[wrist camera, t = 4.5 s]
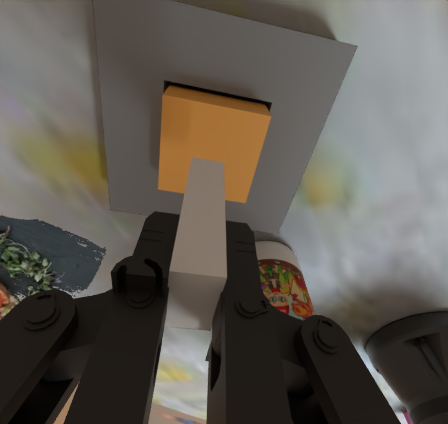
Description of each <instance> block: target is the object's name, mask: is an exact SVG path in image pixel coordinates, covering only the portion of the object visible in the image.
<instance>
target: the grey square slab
mask: <svg viewBox="0 0 448 424" xmlns="http://www.w3.org/2000/svg"><path fill="white" fill-rule="evenodd" d="M92 2H93V14H94V26H95V37H96V49H97V61H98V72H99V84H100V96H101V107H102V119H103V130H104V142H105V154H106V165H107V177H108V189H109V200H110V210H113V211H120V212H127V213H133V214H140V215H147V216H150V215H151V214H152V213H153V212H154V211H158V212H165V213H172V214H179V215H180V214H181V209H182V204H183V199H184V194H183V193H177V192H171V191H164V190H158V179H159V159H160V138H161V118H162V97H163V93H164V92H165V91H166V90H167V88H168V87H169V86H170V85H171V82H176V83H181V84H185V85H190V86H195V87H200V88H205V89H209V90H214V91H219V92H224V93H229V94H234V95H238V96H243V97H248V98H253V99H258V100H262V101H263V104H265V105H266V107H267V109H268V111H269V113H270V115H271V119H270V123H269V126H268V129H267V133H266V136H265V140H264V143H263V146H262V150H261V153H260V156H259V160H258V163H257V166H256V170H255V173H254V177H253V180H252V183H251V187H250V190H249V193H248V197H247V200H246V203H241V202H234V201H228V200H225V219H226V220H227V221H234V222H241V223H247V224H248V226H249V227H250V229H251V230H252V231H258V232H265V233H272V234H278V232H279V230H280V228H281V225H282V223H283V221H284V218H285V216H286V214H287V211H288V209H289V207H290V204H291V202H292V200H293V197H294V195H295V192H296V190H297V188H298V185H299V183H300V181H301V178H302V176H303V174H304V171H305V169H306V167H307V164H308V162H309V160H310V157H311V155H312V153H313V150H314V148H315V145H316V143H317V141H318V138H319V136H320V134H321V131H322V129H323V127H324V124H325V122H326V120H327V117H328V115H329V113H330V110H331V108H332V105H333V103H334V101H335V98H336V96H337V94H338V91H339V89H340V87H341V84H342V82H343V80H344V77H345V75H346V73H347V70H348V68H349V66H350V63H351V61H352V58H353V56H354V54H355V51H356V49H357V47H358V46H356V45H351V44H347V43H343V42H339V41H335V40H331V39H327V38H323V37H319V36H315V35H311V34H307V33H303V32H298V31H294V30H290V29H286V28H282V27H278V26H274V25H270V24H266V23H262V22H258V21H254V20H249V19H245V18H241V17H237V16H233V15H229V14H225V13H221V12H217V11H213V10H209V9H205V8H201V7H196V6H192V5H188V4H184V3H180V2H176V1H172V0H92Z"/></svg>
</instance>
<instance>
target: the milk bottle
mask: <svg viewBox="0 0 448 424" xmlns="http://www.w3.org/2000/svg"><path fill="white" fill-rule="evenodd" d="M255 246H256V254H257V259H258V265H259V272H260V278H261V285H262V290H263V293H264V295H265V296H266V297H267V298H268V299H269V301H270V303H271V304H272V305H273V306H274V307H275V308H277V309H278V310H280V311H282V312H283V313H286V314H288V315H290V316H293V317H295V318H298V319H300V320H302V321H304V320H305V319H306V318H307V317H310V316H312V315H315V313H314V310H313V307H312V303H311V300H310V297H309V294H308V291H307V287H306V284H305V281H304V278H303V275H302V272H301V269H300V265H299V263H298V260H297V257H296V255H295V254H294V252H293V251H292V250H290V249H289V248H288V247H287V246H285V245H283V244H281V243H278V242H274V241H257V242H255Z"/></svg>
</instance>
